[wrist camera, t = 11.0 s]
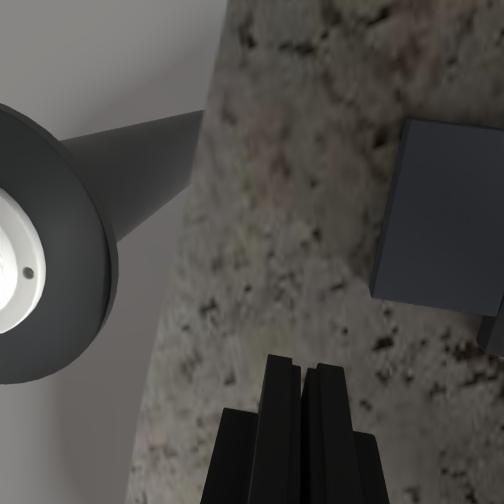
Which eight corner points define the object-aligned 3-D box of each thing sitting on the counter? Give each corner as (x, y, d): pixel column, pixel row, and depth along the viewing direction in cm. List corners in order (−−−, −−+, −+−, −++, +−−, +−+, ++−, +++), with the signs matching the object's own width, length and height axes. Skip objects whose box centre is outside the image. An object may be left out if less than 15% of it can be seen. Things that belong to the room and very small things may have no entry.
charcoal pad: (368, 287, 28) (371, 298, 27) (405, 116, 25) (411, 118, 24) (552, 315, 28) (565, 328, 26) (617, 142, 24) (635, 146, 23)
